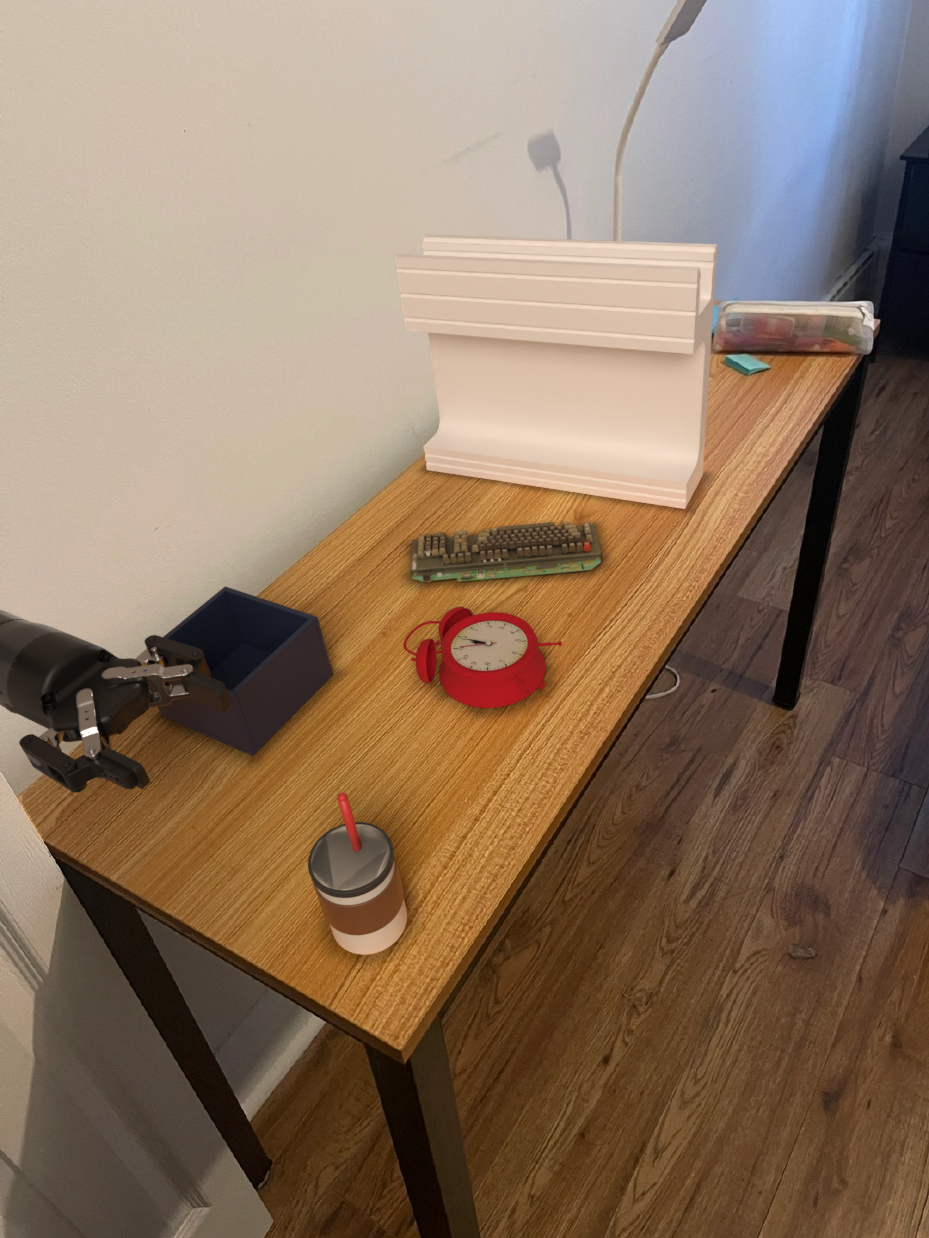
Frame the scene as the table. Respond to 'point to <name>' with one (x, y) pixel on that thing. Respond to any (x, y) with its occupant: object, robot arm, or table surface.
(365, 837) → the paper cup
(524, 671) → the alarm clock
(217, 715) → the bin
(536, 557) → the keyboard
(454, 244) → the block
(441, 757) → the table surface
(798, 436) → the table surface
